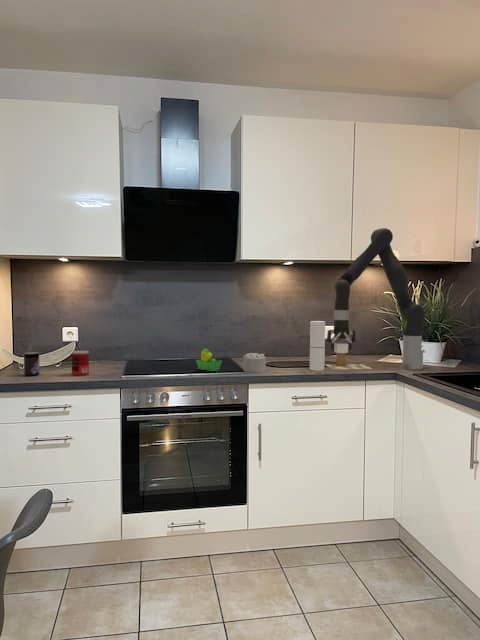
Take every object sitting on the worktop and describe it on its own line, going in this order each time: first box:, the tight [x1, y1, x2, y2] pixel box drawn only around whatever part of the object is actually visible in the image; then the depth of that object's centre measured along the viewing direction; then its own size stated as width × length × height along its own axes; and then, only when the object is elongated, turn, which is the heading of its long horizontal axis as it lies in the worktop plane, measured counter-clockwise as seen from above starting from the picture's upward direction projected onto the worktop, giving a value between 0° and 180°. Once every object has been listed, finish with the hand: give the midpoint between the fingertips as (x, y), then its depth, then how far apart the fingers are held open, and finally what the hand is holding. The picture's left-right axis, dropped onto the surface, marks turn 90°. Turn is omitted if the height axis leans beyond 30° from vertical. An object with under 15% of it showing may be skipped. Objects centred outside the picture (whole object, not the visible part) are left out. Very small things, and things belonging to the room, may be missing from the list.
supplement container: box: [23, 351, 41, 377], centre depth 225 cm, size 7×7×10 cm
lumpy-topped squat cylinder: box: [242, 352, 266, 374], centre depth 241 cm, size 10×13×9 cm
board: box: [324, 363, 373, 370], centre depth 247 cm, size 20×16×2 cm
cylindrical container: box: [309, 320, 326, 374], centre depth 237 cm, size 7×7×25 cm
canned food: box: [71, 350, 90, 377], centre depth 227 cm, size 8×8×11 cm
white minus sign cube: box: [334, 342, 349, 354], centre depth 249 cm, size 6×6×5 cm
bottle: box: [335, 352, 347, 367], centre depth 249 cm, size 5×5×10 cm
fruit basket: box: [195, 348, 223, 372], centre depth 241 cm, size 11×9×11 cm
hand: (340, 350), depth 249 cm, fingers open, 8 cm apart
